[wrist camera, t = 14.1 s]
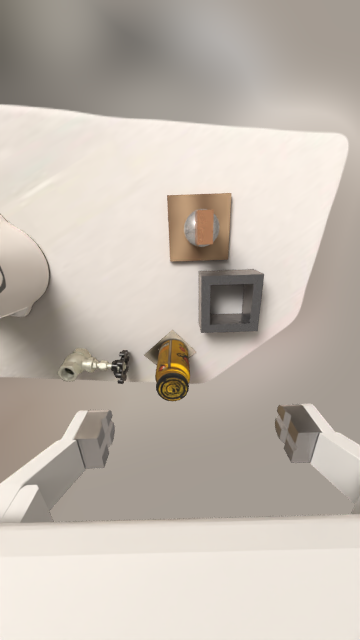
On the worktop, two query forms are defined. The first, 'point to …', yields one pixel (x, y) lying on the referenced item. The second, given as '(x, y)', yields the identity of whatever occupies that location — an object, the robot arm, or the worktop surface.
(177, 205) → the board
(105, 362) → the valve
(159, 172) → the worktop surface
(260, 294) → the housing
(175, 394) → the condiment
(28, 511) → the robot arm
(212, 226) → the plug
